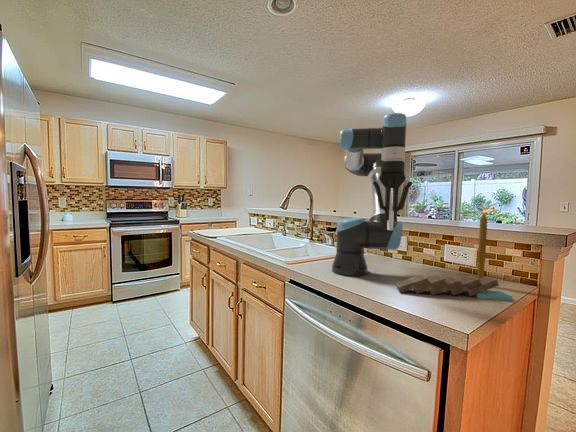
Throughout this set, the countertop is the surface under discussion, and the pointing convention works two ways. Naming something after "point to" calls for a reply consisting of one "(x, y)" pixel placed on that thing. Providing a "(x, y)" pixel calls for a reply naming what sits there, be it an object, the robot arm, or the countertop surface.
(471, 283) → the domino
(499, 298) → the domino
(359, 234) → the robot arm
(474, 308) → the countertop surface
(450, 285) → the domino
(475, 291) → the domino
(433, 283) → the domino
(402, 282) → the domino
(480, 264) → the candlestick
